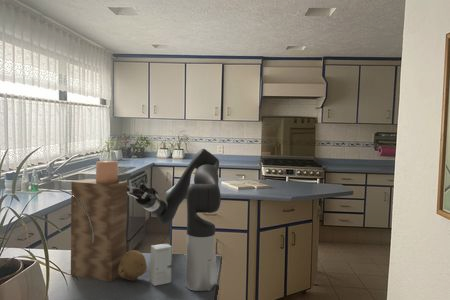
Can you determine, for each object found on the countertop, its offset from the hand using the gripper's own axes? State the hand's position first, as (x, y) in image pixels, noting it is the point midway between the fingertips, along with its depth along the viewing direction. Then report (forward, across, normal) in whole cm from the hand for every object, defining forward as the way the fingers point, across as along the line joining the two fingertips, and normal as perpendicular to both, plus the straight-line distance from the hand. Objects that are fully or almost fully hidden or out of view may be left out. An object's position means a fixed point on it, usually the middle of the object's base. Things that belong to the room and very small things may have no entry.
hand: (130, 185), depth 133 cm
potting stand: (-2, -3, +33) cm, 33 cm away
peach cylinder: (+11, 0, +3) cm, 11 cm away
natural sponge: (-1, +11, +33) cm, 35 cm away
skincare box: (-3, +20, +32) cm, 38 cm away
